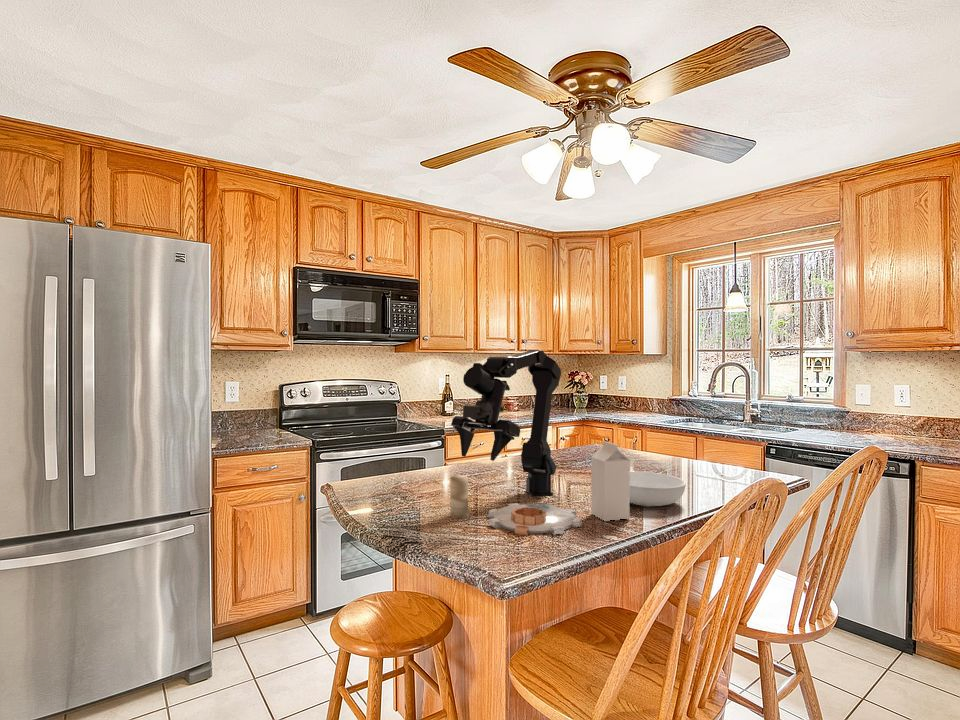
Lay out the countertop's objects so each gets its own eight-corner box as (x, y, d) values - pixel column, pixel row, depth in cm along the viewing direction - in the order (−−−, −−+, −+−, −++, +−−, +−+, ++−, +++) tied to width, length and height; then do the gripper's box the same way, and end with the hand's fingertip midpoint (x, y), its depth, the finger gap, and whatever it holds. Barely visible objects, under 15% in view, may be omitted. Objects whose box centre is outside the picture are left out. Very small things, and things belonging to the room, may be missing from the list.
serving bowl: (658, 518, 139) (658, 491, 139) (592, 501, 155) (593, 477, 155) (700, 504, 152) (700, 480, 152) (636, 490, 168) (636, 468, 168)
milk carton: (604, 522, 135) (604, 445, 135) (590, 514, 142) (591, 441, 142) (629, 520, 137) (629, 444, 137) (615, 512, 144) (615, 440, 144)
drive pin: (465, 513, 142) (465, 475, 142) (469, 518, 138) (470, 478, 138) (448, 514, 141) (448, 475, 141) (452, 519, 137) (452, 479, 137)
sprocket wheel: (557, 505, 150) (557, 492, 150) (599, 531, 128) (599, 516, 128) (476, 511, 144) (476, 498, 144) (504, 540, 121) (504, 524, 121)
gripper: (446, 388, 144) (430, 446, 139) (504, 391, 133) (489, 453, 128) (470, 402, 152) (456, 457, 147) (527, 406, 141) (513, 465, 136)
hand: (477, 458), depth 139 cm, fingers open, 9 cm apart
